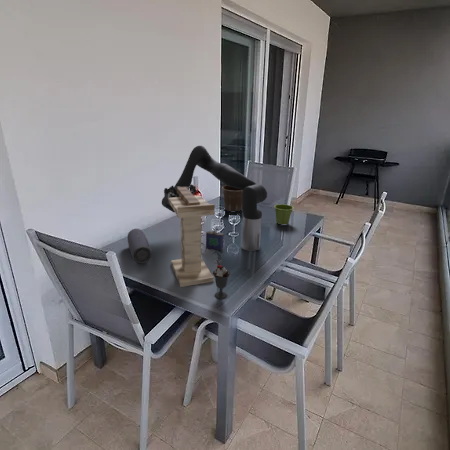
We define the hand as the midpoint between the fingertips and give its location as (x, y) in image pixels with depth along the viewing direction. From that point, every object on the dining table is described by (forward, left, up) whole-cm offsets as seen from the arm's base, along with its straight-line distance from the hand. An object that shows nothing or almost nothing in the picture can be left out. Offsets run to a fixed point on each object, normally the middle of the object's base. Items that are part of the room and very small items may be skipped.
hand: (182, 187), depth 139 cm
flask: (-12, -14, -36) cm, 40 cm away
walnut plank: (-4, +8, -3) cm, 9 cm away
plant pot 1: (-12, -78, -35) cm, 86 cm away
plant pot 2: (-46, -59, -35) cm, 82 cm away
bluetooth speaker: (+22, +1, -36) cm, 42 cm away
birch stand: (-7, +12, -35) cm, 38 cm away
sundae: (-23, +26, -35) cm, 50 cm away
